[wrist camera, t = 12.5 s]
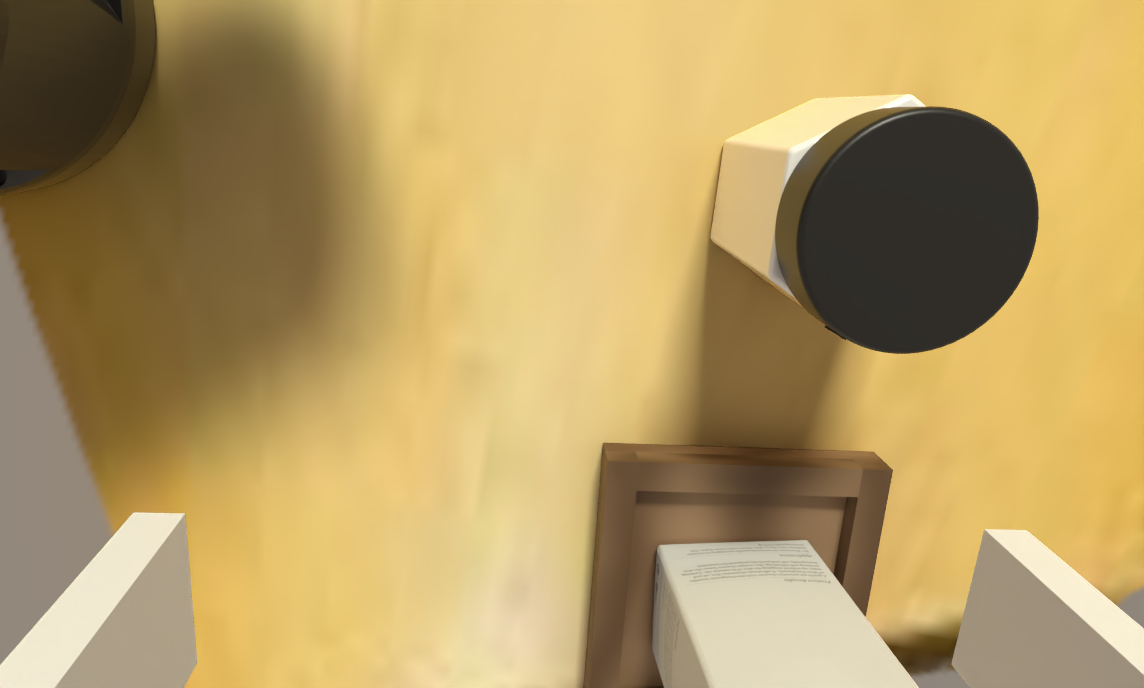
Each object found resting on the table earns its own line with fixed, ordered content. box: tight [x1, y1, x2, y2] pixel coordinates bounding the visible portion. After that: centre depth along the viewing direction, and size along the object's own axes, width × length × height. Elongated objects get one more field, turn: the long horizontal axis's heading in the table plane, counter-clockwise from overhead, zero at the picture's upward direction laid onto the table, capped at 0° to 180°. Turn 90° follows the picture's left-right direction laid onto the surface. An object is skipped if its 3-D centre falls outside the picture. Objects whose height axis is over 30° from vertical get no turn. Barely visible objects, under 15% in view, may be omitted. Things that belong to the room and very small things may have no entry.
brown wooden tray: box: [584, 443, 893, 688], centre depth 42 cm, size 14×15×2 cm
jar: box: [710, 94, 1039, 354], centre depth 32 cm, size 9×8×12 cm
